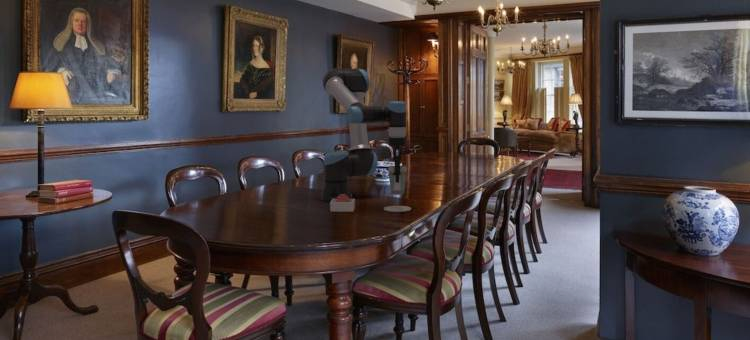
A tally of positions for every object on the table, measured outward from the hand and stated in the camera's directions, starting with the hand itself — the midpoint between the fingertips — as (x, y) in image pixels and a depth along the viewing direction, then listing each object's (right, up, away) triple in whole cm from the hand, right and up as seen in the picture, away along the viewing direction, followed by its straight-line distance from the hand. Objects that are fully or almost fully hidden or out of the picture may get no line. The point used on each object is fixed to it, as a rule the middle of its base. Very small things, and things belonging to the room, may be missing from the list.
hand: (397, 188), depth 250 cm
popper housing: (-24, -9, +1) cm, 26 cm away
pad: (0, -9, +1) cm, 9 cm away
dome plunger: (-24, -8, +1) cm, 25 cm away
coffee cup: (0, -3, 0) cm, 3 cm away
